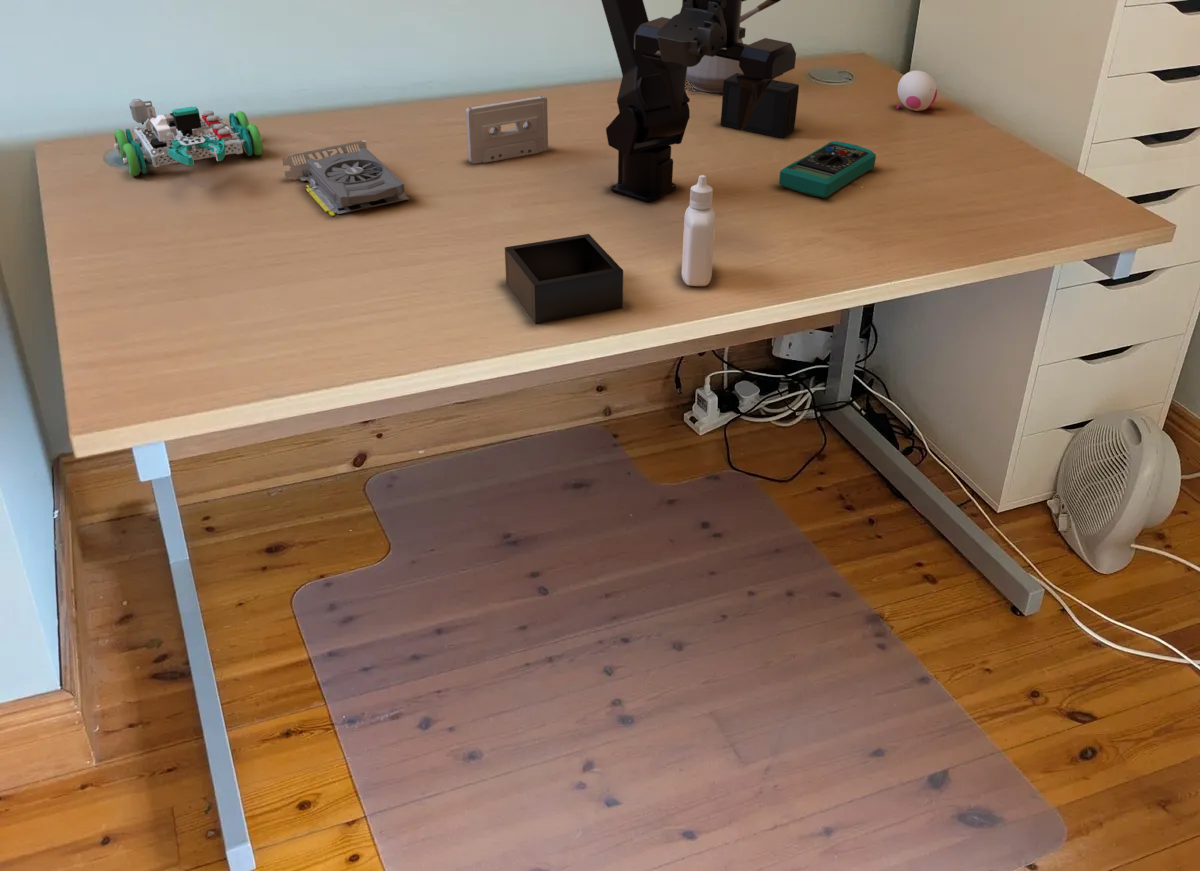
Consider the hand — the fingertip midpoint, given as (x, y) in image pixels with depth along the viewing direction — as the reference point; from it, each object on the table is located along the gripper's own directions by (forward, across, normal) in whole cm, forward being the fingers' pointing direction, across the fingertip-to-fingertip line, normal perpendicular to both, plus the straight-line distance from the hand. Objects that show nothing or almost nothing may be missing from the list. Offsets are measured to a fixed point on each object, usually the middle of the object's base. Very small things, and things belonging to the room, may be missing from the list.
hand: (708, 120), depth 134 cm
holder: (+13, -1, -26) cm, 29 cm away
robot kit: (+13, -64, -28) cm, 71 cm away
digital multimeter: (+13, +5, +23) cm, 27 cm away
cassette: (+13, -34, +2) cm, 37 cm away
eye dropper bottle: (+13, +8, -13) cm, 20 cm away
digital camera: (+13, -13, +35) cm, 40 cm away
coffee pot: (+13, -27, +52) cm, 60 cm away
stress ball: (+13, +2, +58) cm, 59 cm away
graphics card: (+13, -42, -21) cm, 49 cm away
